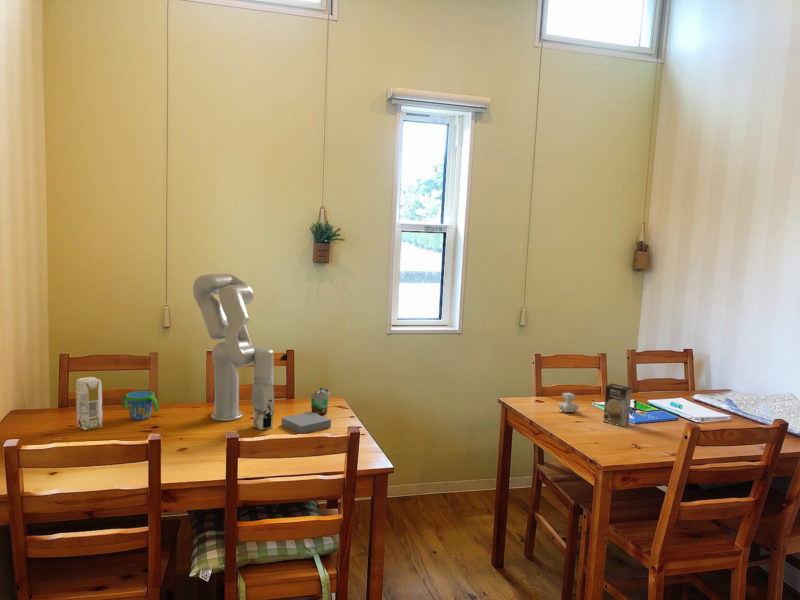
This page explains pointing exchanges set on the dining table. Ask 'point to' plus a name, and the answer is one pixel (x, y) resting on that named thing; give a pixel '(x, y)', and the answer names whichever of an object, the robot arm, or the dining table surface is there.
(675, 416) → the dining table surface
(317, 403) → the food container
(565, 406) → the stamp
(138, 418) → the snack cup
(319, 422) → the stand
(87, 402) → the juice carton
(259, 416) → the block
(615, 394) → the coffee box
